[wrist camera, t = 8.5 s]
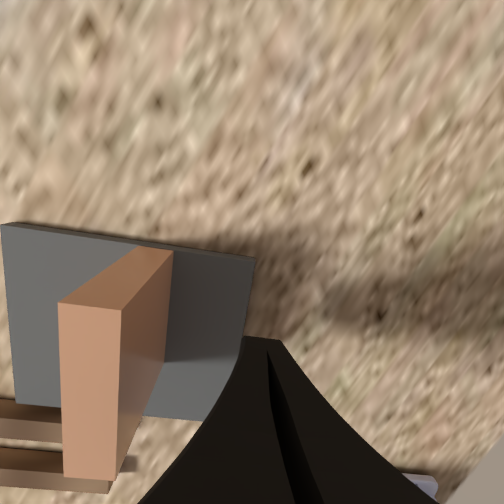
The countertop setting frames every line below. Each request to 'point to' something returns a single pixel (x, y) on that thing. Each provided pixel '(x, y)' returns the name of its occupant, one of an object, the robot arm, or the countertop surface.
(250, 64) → the countertop surface
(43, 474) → the rack
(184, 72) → the countertop surface
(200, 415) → the mat
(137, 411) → the tile
